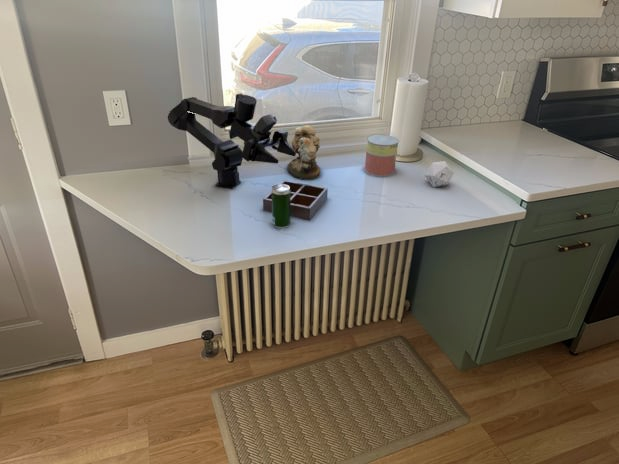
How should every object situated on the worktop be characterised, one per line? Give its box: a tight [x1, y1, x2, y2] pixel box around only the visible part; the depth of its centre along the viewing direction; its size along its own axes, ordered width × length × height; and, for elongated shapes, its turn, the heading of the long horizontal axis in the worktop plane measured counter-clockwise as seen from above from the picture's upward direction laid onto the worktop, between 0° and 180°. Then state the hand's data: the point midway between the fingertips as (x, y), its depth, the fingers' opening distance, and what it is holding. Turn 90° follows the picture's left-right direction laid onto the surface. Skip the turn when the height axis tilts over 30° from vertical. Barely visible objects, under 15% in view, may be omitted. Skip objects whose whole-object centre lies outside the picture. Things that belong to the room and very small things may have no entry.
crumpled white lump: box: [424, 160, 455, 188], centre depth 162 cm, size 8×9×10 cm
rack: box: [262, 179, 329, 221], centre depth 147 cm, size 16×16×4 cm
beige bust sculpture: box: [286, 124, 321, 181], centre depth 168 cm, size 18×12×17 cm, turn 18°
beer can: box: [271, 183, 291, 230], centre depth 134 cm, size 5×5×12 cm
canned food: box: [364, 134, 400, 177], centre depth 171 cm, size 11×11×12 cm
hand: (286, 158), depth 140 cm, fingers open, 9 cm apart
